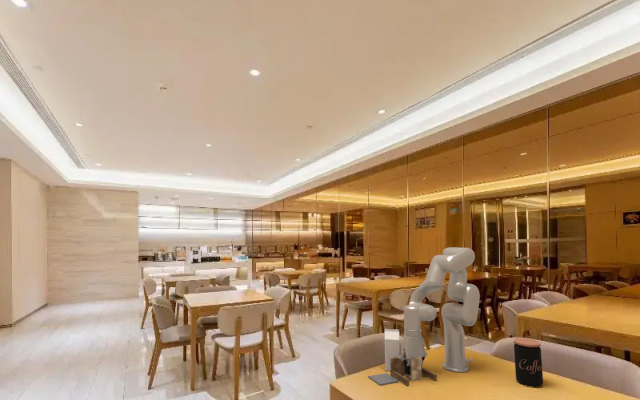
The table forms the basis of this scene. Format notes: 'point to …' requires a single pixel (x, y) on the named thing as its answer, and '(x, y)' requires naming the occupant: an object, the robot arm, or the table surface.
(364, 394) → the table surface
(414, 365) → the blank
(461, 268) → the robot arm
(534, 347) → the coffee jar
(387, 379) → the coaster
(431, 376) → the wooden arch bench
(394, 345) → the milk carton
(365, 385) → the table surface
